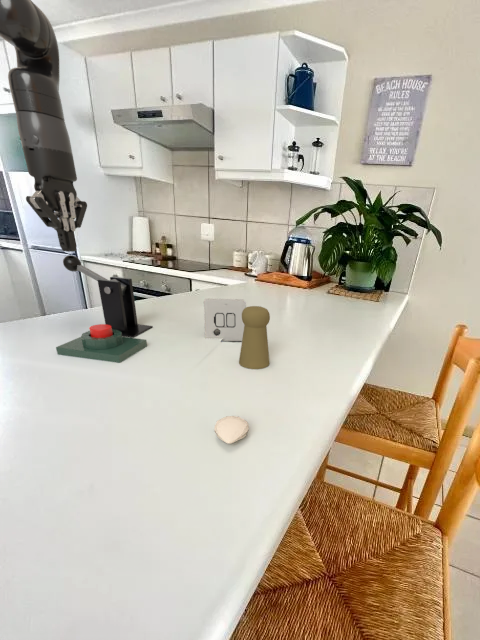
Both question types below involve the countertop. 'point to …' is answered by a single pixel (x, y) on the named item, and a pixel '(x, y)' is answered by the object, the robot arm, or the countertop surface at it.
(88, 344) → the button block
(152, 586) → the countertop surface
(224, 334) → the electrical switch
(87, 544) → the countertop surface
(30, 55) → the robot arm
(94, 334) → the push button
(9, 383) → the countertop surface
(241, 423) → the seashell
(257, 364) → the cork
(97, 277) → the switch lever
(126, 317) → the switch bracket
